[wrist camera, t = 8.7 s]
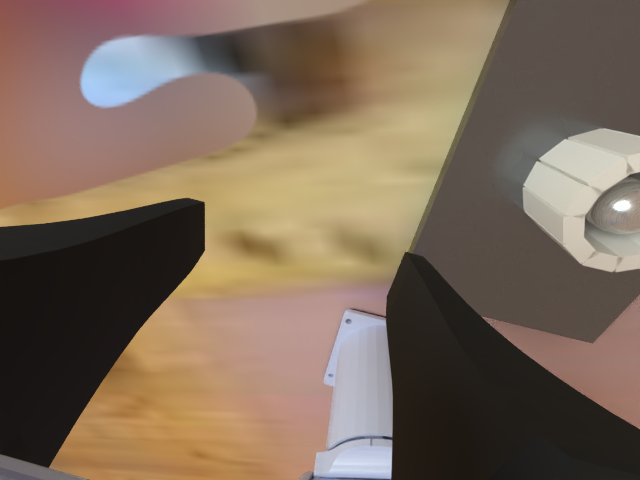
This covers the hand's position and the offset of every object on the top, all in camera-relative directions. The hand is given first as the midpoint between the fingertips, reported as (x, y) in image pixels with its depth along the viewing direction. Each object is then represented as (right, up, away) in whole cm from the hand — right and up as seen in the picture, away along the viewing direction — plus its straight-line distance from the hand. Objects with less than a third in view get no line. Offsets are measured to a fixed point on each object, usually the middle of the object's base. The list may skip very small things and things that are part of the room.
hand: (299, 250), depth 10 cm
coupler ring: (+15, +3, +5) cm, 16 cm away
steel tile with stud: (+15, +4, +6) cm, 17 cm away
